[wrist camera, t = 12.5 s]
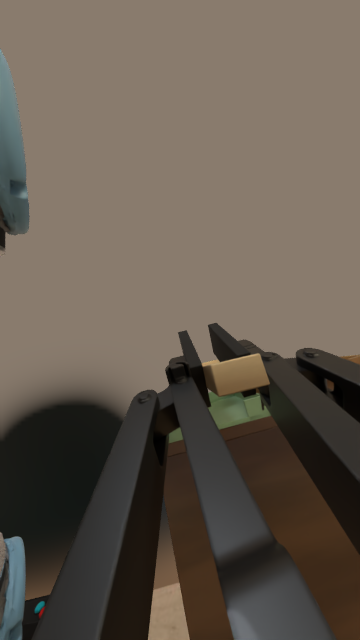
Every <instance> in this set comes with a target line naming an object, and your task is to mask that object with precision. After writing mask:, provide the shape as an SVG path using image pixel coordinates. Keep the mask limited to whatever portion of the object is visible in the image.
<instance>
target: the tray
mask: <svg viewBox="0 0 360 640" xmlns="http://www.w3.org/2000/svg"><path fill="white" fill-rule="evenodd" d="M209 398H210V402H211V407H208V409H209V411H210V413H211V415H212V417H213V419H214V421H215V423H216V425H217V426H218V428H219V430H220V429H224V428H227V427H231V426H235V425H238V424H242V423H246V422H249V421H253V420H257V419H260V418H264V417H268V416H271V414H270V413H269V411H268V410H267V408H266V406H264V410H262V407H261V399H260V394H259V393H256V395H252V396H249V397H245V398H244V397H243V395H242V394H241V392H239V393H235V394H231V395H227V396H222V397H218V396H217V395H216V394H214V393H213V392H209ZM180 440H183V437H182V433H181V429H180V427H179V428H178V429H176V430H174V431H173V432H171V433H169V443H172V442H176V441H180Z"/></svg>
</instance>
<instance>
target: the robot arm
mask: <svg viewBox="0 0 360 640" xmlns="http://www.w3.org/2000/svg"><path fill="white" fill-rule="evenodd" d="M28 229H29V203H28V193H27V187H26V163H25V154H24V146H23V138H22V130H21V123H20V116H19V110H18V104H17V98H16V93H15V88H14V83H13V80H12V76H11V72H10V69H9V66H8V64H7V61H6V59H5V57H4V55H3V54H2V52H1V49H0V257H1V256H3V255H4V254H5V232H7V233H8V234H11V235H17V234H25V233H27V231H28ZM208 327H209V332H210V337H211V342H212V347H213V352H214V354H215V355H216V357H217V358H218V360H219V361H220V362H223V361H228V360H232V359H236V358H240V357H244V356H249V355H253V354H257V353H259V354H260V356H261V359H262V362H263V365H264V368H265V371H266V373H267V376H268V379H269V382H270V384H269V385H267V386H263V387H259V388H258V389H259V392H260V399H261V407H262V410H264V406H266V408H267V410H268V411H269V413H270V414H271V416H272V417H273V419H274V421H275V422H276V424H277V425H278V427H279V428H280V430H281V432H282V433H283V435H284V436H285V438H286V440H287V441H288V443H289V444H290V446H291V448H292V449H293V451H294V452H295V454H296V455H297V457H298V459H299V460H300V462H301V463H302V465H303V467H304V468H305V470H306V471H307V473H308V474H309V476H310V478H311V479H312V481H313V482H314V484H315V486H316V487H317V489H318V490H319V492H320V493H321V495H322V497H323V498H324V500H325V501H326V503H327V505H328V506H329V508H330V509H331V511H332V512H333V514H334V516H335V517H336V519H337V520H338V522H339V524H340V525H341V527H342V528H343V530H344V531H345V533H346V535H347V536H348V538H349V539H350V541H351V543H352V544H353V546H354V547H355V549H356V550H357V552H358V554H359V555H360V364H357V363H354V362H352V361H349V360H346V359H343V358H341V357H338V356H335V355H333V354H330V353H327V352H324V351H322V350H318V349H312V348H304V349H300V350H298V351H297V352H296V358H288V359H283V358H282V357H281V356H280V355H278V354H276V353H272V352H264V351H262V350H261V349H260V348H258V347H257V346H256V345H254V344H253V343H252V342H250V341H247V340H241V341H237V340H236V339H234V338H233V337H232V336H231V335H230V334H229V333H227V332H226V331H225V330H224V329H223V328H222V327H220V326H219V325H218V324H217V323H214V324H210V325H208ZM178 334H179V338H180V342H181V346H182V350H183V354H184V356H180V357H176V358H172V359H171V360H170V361H169V365H168V366H167V367H166V370H165V371H166V375H167V379H168V382H169V386H168V388H167V389H165V390H164V391H162V392H160V393H158V394H157V393H156V392H155V391H154V390H146V391H143V392H140V393H139V394H137V395H136V396H135V397H134V398H133V400H132V402H131V404H130V407H129V409H128V412H127V414H126V416H125V419H124V421H123V423H122V426H121V428H120V431H119V433H118V435H117V438H116V440H115V442H114V445H113V447H112V450H111V452H110V454H109V456H108V459H107V461H106V464H105V466H104V468H103V471H102V473H101V475H100V478H99V480H98V483H97V485H96V487H95V490H94V492H93V495H92V497H91V499H90V502H89V504H88V506H87V509H86V511H85V514H84V516H83V518H82V521H81V523H80V525H79V528H78V530H77V532H76V535H75V537H74V540H73V542H72V544H71V547H70V549H69V551H68V554H67V556H66V558H65V561H64V563H63V566H62V568H61V570H60V573H59V575H58V578H57V580H56V582H55V585H54V587H53V589H52V592H51V594H50V596H49V599H48V601H47V604H46V606H45V608H44V611H43V613H42V615H41V618H40V620H39V622H38V625H37V627H36V630H35V632H34V634H33V637H32V639H31V640H148V633H149V623H150V614H151V605H152V595H153V586H154V576H155V567H156V557H157V548H158V539H159V530H160V520H161V511H162V502H163V492H164V483H165V473H166V464H167V455H168V445H169V433H171V432H173V431H174V430H176V429H178V428H179V427H180V429H181V433H182V437H183V440H184V444H185V448H186V452H187V456H188V460H189V464H190V468H191V472H192V475H193V479H194V483H195V487H196V491H197V495H198V499H199V503H200V507H201V510H202V514H203V518H204V522H205V526H206V530H207V534H208V538H209V542H210V545H211V549H212V553H213V557H214V561H215V565H216V569H217V573H218V578H219V582H220V586H221V590H222V594H223V598H224V602H225V606H226V610H227V614H228V618H229V622H230V626H231V630H232V634H233V637H234V640H337V639H336V637H335V635H334V633H333V631H332V630H331V628H330V626H329V624H328V622H327V620H326V618H325V617H324V615H323V613H322V611H321V609H320V607H319V606H318V604H317V602H316V600H315V598H314V596H313V594H312V593H311V591H310V589H309V587H308V585H307V583H306V582H305V580H304V578H303V576H302V574H301V572H300V571H299V569H298V567H297V565H296V564H295V562H294V560H293V559H292V557H291V555H290V554H289V552H288V551H287V550H286V548H285V547H284V546H283V545H281V544H280V543H279V542H278V541H277V540H276V538H275V537H274V535H273V533H272V531H271V530H270V528H269V526H268V524H267V522H266V520H265V518H264V516H263V514H262V512H261V510H260V508H259V506H258V504H257V502H256V500H255V498H254V496H253V495H252V493H251V491H250V489H249V487H248V485H247V483H246V481H245V479H244V477H243V475H242V473H241V471H240V469H239V467H238V465H237V463H236V461H235V460H234V458H233V456H232V454H231V452H230V450H229V448H228V446H227V444H226V442H225V440H224V438H223V436H222V434H221V432H220V430H219V428H218V426H217V425H216V423H215V421H214V419H213V417H212V415H211V413H210V411H209V409H208V407H211V402H210V398H209V393H208V389H207V386H206V381H205V376H204V371H203V366H202V363H201V361H200V359H199V357H198V354H197V352H196V350H195V348H194V346H193V344H192V341H191V339H190V337H189V335H188V333H187V331H182V332H179V333H178ZM327 380H329V381H331V382H333V383H334V389H333V390H331V389H329V388H327ZM241 394H242V395H243V397H244V398H245V397H249V396H252V395H256V388H255V389H251V390H247V391H243V392H241ZM24 606H25V552H24V544H23V540H22V538H21V537H17V536H16V537H12V538H10V539H3V536H2V534H1V532H0V640H22V636H23V630H22V621H23V614H24Z"/></svg>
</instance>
